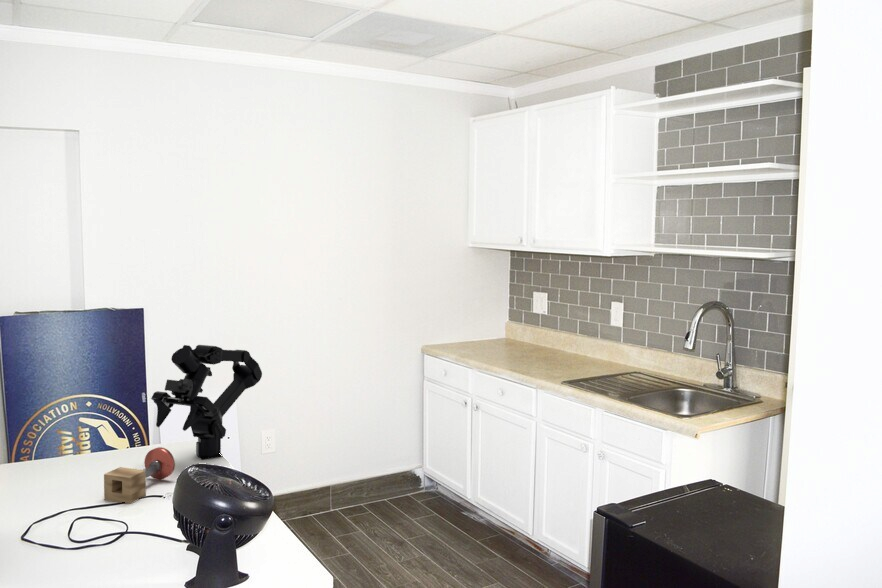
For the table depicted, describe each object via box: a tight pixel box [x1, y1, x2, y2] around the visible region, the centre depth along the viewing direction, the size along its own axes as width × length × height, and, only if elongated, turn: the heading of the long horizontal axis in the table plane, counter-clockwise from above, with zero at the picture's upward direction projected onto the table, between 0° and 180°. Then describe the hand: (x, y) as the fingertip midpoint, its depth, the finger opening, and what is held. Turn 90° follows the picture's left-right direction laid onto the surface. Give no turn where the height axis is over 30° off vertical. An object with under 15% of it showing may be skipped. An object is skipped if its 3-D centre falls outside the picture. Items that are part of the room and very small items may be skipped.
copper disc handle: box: [142, 446, 176, 481], centre depth 193 cm, size 11×9×9 cm
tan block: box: [103, 466, 147, 505], centre depth 184 cm, size 6×8×7 cm
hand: (170, 428), depth 203 cm, fingers open, 9 cm apart
